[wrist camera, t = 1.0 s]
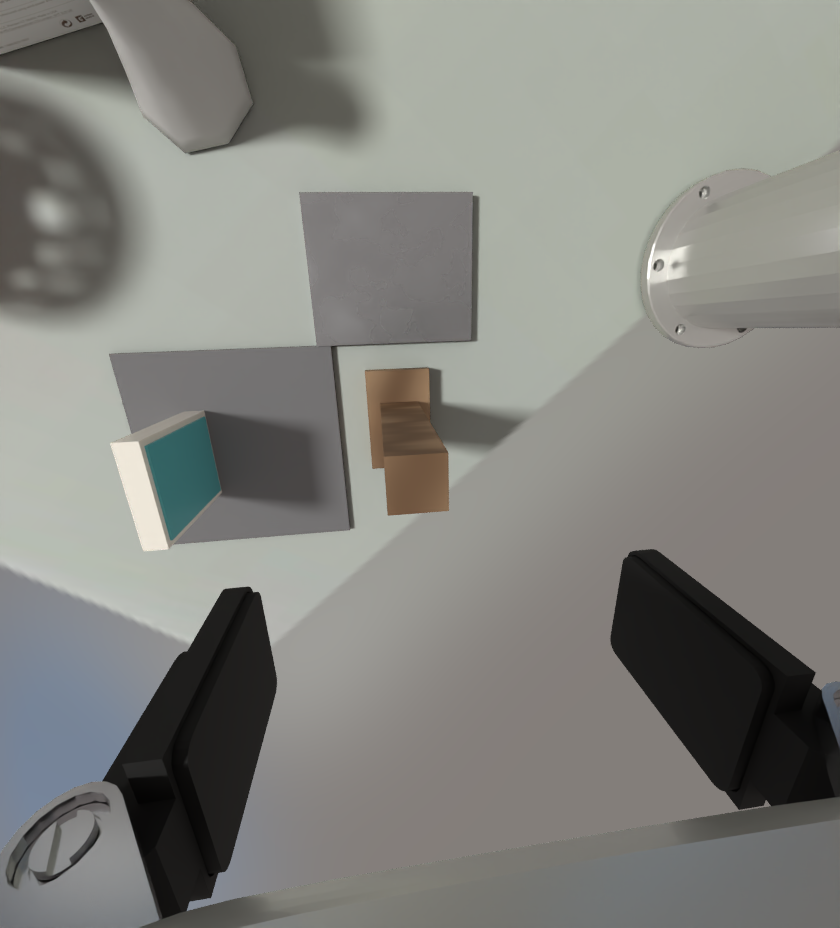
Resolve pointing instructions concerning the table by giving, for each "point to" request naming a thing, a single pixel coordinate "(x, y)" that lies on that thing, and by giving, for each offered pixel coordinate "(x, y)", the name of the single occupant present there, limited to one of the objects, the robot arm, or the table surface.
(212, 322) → the table surface
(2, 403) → the table surface
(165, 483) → the tile
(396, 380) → the wooden post stand
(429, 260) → the plate
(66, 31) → the supplement box
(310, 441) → the mat
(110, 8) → the flask
